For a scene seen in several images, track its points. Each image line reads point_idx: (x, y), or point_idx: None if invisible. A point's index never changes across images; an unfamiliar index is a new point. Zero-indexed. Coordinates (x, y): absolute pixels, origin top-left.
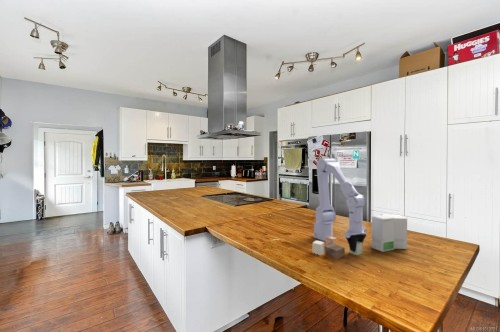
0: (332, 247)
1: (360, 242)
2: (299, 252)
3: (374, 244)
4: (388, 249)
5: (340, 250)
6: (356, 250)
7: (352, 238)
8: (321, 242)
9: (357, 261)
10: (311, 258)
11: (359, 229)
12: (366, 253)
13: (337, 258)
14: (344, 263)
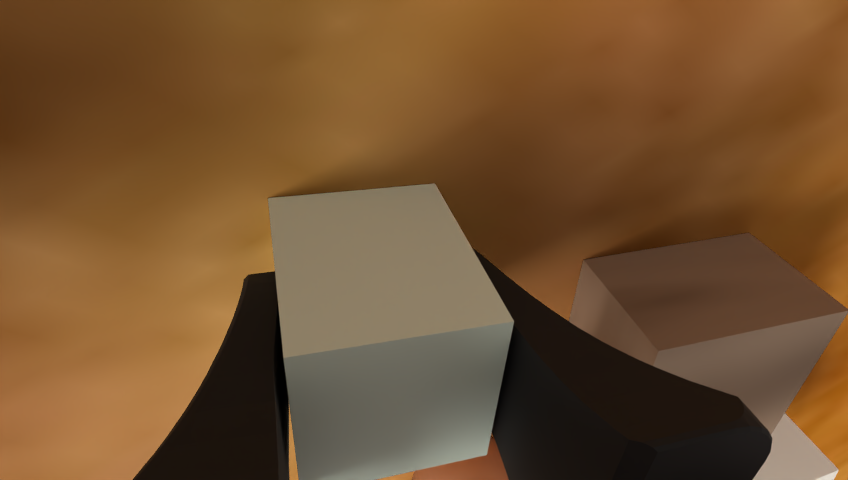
0: (756, 400)
1: (312, 377)
2: None
3: None
4: None
5: (751, 313)
6: (462, 245)
7: (740, 471)
8: None
9: (670, 35)
10: (844, 343)
11: None
12: (190, 152)
13: (741, 238)
14: (832, 106)
